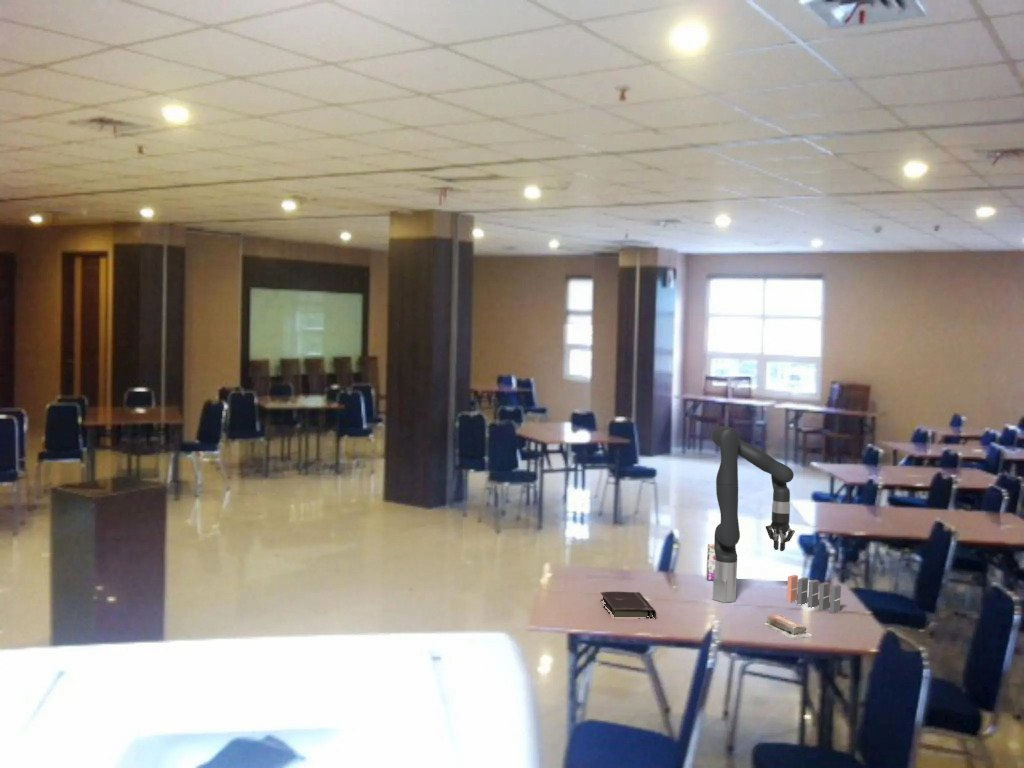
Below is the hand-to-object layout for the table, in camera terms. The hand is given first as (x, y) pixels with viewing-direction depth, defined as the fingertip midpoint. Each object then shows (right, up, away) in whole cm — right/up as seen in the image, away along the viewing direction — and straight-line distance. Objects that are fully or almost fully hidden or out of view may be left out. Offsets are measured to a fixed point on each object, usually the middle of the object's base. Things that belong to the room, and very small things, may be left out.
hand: (779, 550), depth 414 cm
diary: (-69, -22, -22) cm, 76 cm away
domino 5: (+18, -23, -18) cm, 34 cm away
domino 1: (+4, -21, -4) cm, 22 cm away
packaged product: (-10, -24, -44) cm, 52 cm away
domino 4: (+15, -22, -15) cm, 30 cm away
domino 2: (+8, -22, -7) cm, 24 cm away
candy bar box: (-20, -19, +28) cm, 39 cm away
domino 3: (+11, -22, -11) cm, 27 cm away
